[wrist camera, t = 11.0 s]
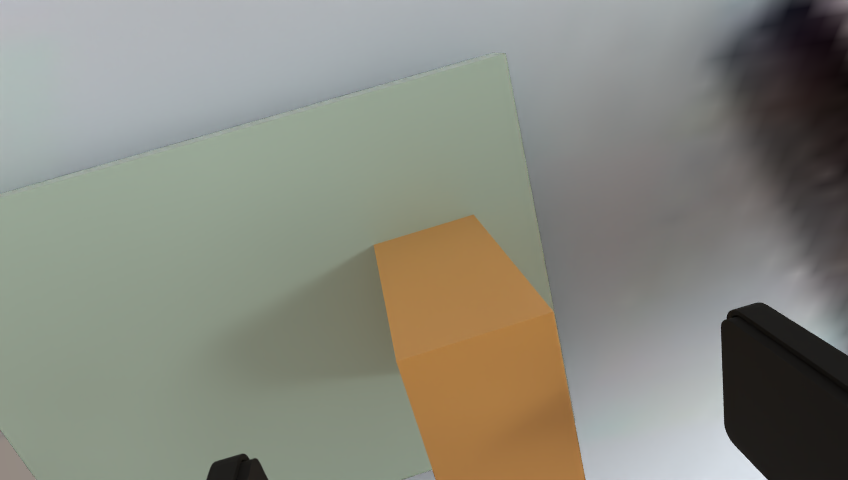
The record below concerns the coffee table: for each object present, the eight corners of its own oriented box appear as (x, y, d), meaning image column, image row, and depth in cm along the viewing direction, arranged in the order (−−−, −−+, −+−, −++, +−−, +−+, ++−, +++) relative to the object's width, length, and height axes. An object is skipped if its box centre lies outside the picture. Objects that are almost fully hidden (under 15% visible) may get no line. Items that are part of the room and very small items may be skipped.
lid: (483, 52, 16) (620, 58, 8) (551, 385, 21) (678, 585, 13) (-74, 211, 15) (-497, 383, 7) (130, 522, 20) (0, 823, 12)
